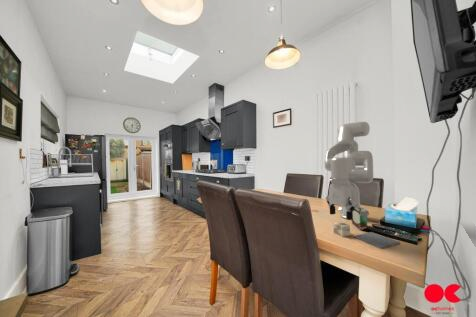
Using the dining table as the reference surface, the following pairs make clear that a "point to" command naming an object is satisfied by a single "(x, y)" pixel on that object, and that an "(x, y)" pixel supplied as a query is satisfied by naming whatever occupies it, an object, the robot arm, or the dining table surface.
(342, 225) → the birch cube
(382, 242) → the charcoal mat
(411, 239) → the dining table surface
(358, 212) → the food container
